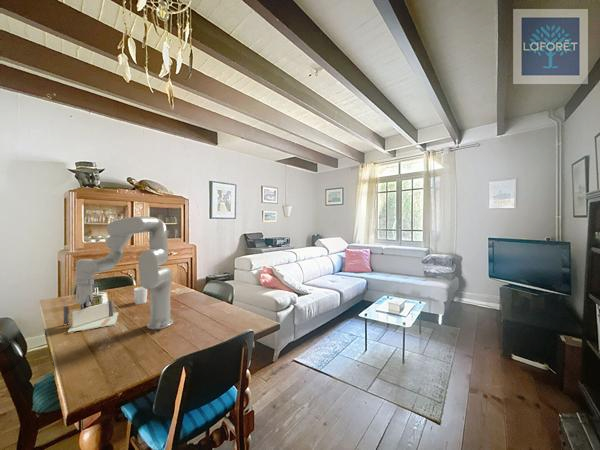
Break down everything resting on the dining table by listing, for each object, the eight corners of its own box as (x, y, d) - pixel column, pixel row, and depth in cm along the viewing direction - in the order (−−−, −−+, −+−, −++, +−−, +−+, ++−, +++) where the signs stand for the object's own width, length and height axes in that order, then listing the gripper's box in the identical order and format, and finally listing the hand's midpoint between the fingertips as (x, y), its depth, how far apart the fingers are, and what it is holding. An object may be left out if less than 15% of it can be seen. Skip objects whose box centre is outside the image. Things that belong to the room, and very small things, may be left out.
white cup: (150, 301, 169) (150, 286, 169) (141, 305, 162) (141, 290, 161) (139, 300, 170) (139, 286, 170) (130, 304, 162) (130, 289, 162)
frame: (114, 325, 130) (114, 307, 130) (55, 336, 118) (55, 316, 118) (118, 313, 146) (118, 297, 146) (66, 322, 134) (66, 304, 134)
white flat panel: (107, 316, 139) (106, 302, 139) (108, 316, 139) (108, 302, 138) (71, 326, 125) (71, 311, 125) (73, 327, 124) (72, 312, 124)
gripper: (71, 280, 133) (71, 313, 133) (80, 285, 124) (80, 320, 125) (88, 278, 139) (88, 309, 139) (98, 282, 131) (98, 315, 131)
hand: (84, 314), depth 132 cm, fingers closed
